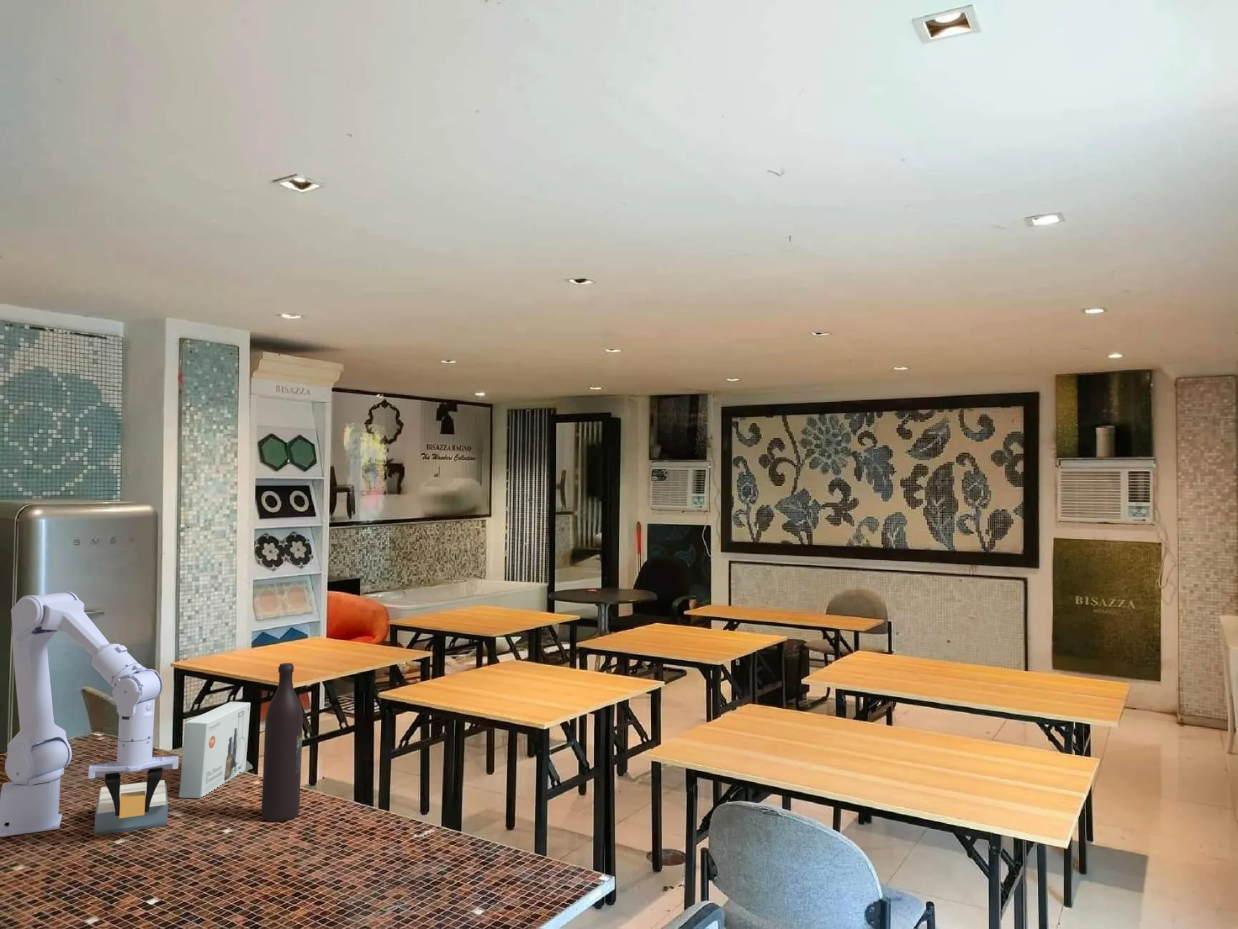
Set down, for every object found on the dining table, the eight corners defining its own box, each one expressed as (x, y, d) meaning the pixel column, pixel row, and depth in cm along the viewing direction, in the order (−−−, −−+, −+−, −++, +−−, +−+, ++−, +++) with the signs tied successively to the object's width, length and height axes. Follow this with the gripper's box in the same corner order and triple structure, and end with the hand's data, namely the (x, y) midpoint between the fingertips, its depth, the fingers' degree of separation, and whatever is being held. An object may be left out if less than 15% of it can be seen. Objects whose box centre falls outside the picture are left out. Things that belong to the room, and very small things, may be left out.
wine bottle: (299, 820, 170) (305, 666, 172) (261, 824, 168) (267, 668, 169) (298, 808, 177) (304, 660, 179) (261, 812, 174) (267, 662, 176)
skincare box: (203, 799, 181) (206, 722, 182) (177, 799, 182) (181, 722, 182) (248, 769, 202) (251, 701, 203) (225, 769, 203) (228, 700, 203)
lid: (96, 821, 156) (97, 801, 156) (100, 791, 172) (101, 773, 172) (166, 812, 161) (167, 792, 162) (164, 783, 178) (165, 766, 178)
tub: (94, 835, 160) (95, 813, 161) (97, 812, 173) (98, 791, 173) (167, 825, 166) (167, 804, 166) (165, 803, 178) (166, 783, 179)
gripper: (89, 747, 154) (85, 825, 153) (180, 738, 161) (176, 813, 160) (91, 738, 160) (87, 813, 159) (178, 729, 167) (175, 801, 166)
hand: (132, 812), depth 160 cm, fingers closed on lid, 4 cm apart
